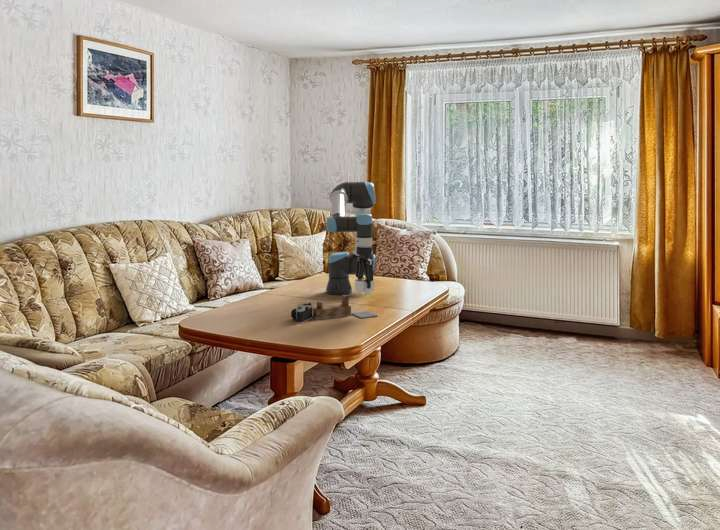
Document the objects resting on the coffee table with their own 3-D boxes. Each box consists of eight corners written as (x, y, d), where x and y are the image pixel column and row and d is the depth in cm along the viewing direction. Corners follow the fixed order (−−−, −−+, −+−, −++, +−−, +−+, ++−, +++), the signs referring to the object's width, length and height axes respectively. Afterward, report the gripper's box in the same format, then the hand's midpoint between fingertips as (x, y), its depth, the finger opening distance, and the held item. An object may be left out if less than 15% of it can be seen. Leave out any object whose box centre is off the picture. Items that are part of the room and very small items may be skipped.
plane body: (316, 319, 272) (316, 299, 271) (312, 316, 277) (311, 297, 276) (351, 315, 281) (351, 296, 279) (346, 312, 286) (346, 294, 284)
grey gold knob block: (354, 289, 280) (354, 278, 279) (367, 288, 283) (367, 276, 282) (360, 292, 274) (360, 280, 273) (373, 290, 277) (373, 279, 276)
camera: (299, 315, 280) (298, 298, 278) (314, 316, 278) (313, 298, 276) (287, 324, 268) (286, 305, 266) (303, 325, 266) (301, 306, 264)
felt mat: (351, 314, 283) (351, 313, 283) (367, 312, 287) (367, 311, 287) (360, 318, 274) (360, 317, 274) (377, 316, 278) (377, 315, 278)
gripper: (348, 244, 282) (348, 290, 285) (366, 248, 265) (366, 298, 268) (362, 243, 285) (362, 289, 289) (381, 248, 268) (380, 296, 272)
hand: (364, 293), depth 278 cm, fingers closed on grey gold knob block, 6 cm apart
